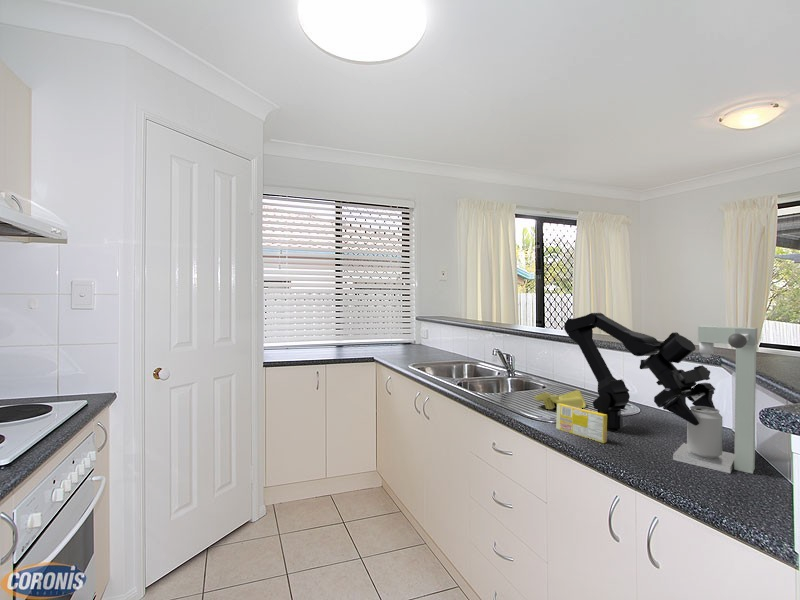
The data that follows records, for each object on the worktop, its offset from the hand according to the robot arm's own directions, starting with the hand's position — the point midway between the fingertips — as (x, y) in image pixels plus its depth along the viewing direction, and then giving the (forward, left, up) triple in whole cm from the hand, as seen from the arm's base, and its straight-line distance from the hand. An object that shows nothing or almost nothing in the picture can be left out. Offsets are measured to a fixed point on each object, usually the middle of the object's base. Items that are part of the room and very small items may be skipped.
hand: (708, 422), depth 109 cm
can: (-1, 0, -9) cm, 9 cm away
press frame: (+4, -7, -10) cm, 13 cm away
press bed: (-1, 0, -10) cm, 10 cm away
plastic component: (-51, +24, -10) cm, 57 cm away
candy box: (-31, -3, -10) cm, 33 cm away
